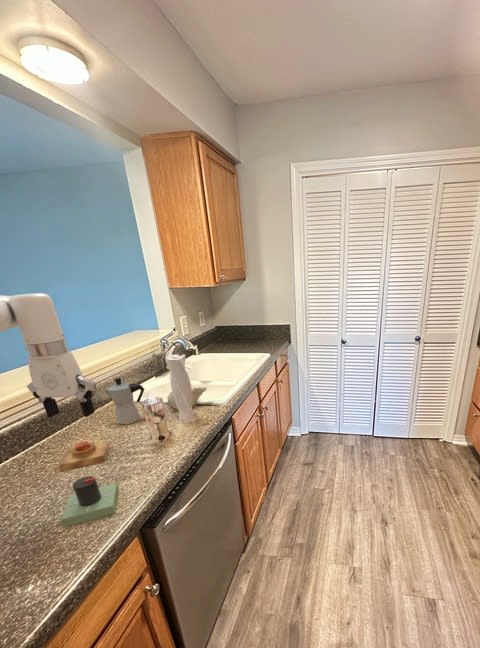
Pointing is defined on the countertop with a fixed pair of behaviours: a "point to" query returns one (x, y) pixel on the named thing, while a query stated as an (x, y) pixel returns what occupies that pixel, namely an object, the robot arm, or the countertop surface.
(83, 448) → the dispense button
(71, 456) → the button block
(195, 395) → the cheese
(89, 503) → the dial
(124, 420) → the coffee maker
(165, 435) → the beer glass
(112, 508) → the dial panel
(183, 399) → the skyscraper
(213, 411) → the countertop surface
